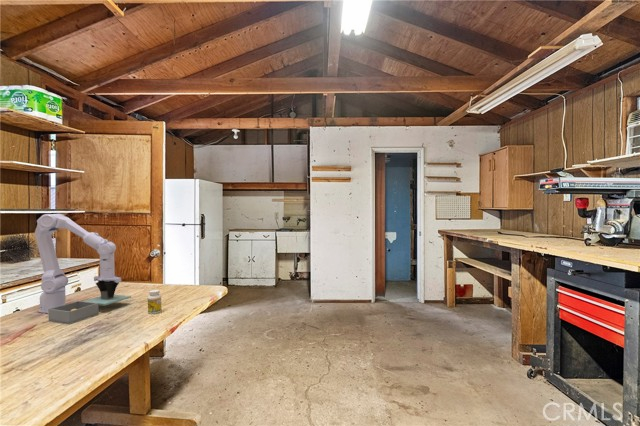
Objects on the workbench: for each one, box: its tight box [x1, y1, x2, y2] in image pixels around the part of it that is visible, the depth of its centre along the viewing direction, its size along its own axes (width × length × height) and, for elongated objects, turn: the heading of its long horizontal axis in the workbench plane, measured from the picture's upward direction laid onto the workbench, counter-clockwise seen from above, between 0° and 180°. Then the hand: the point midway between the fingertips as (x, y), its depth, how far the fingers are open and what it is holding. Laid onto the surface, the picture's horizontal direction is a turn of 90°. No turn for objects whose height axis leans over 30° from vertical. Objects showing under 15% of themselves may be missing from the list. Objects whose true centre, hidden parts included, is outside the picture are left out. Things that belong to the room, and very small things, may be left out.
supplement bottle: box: [147, 289, 162, 315], centre depth 139 cm, size 5×5×10 cm
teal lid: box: [83, 290, 132, 307], centre depth 146 cm, size 14×14×4 cm
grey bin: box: [47, 300, 99, 325], centre depth 132 cm, size 12×12×5 cm
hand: (107, 296), depth 147 cm, fingers closed on teal lid, 3 cm apart
